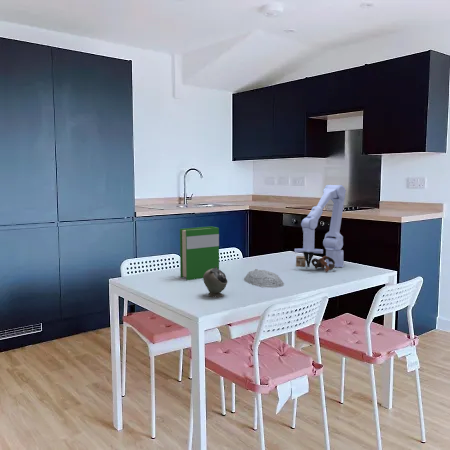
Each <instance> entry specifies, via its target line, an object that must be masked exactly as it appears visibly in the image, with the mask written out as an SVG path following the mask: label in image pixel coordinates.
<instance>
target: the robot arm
mask: <svg viewBox="0 0 450 450" xmlns="http://www.w3.org/2000/svg"><path fill="white" fill-rule="evenodd" d="M322 190H323V191H322V193H323V194H322V195H321V197H320V199H319V201H318V203H317V205H315V206H312V208H311V210H310V212H309V213H308V214H307V216H306V217H304V218H303V219H302V220H301V223H300V226H301V228H302V233H303V235H302V236H303V238H302V239H303V241H302V244H303V245H302V248H294V253H295V254H298V253H299V254H300V253H301V254H303V256H304V257H305V259H306V266H307V268H310V265H311V261H312V259H313V257H314V254H324V249H325V256H327V257H330V258H332V259H333V260H334V261H335V264H334V265H335V267H334V268H344V262H345V261H344V250H343V249H342V248H343V246H344V236H343V235H342V234H341V232H340V230H341V225H342V217H343V211H344V207H345V206H344V205H345V197H346V191H347V189H346V188H345V187H344V185H343V184H326V185H325V187H324V189H322ZM330 201H332V202H333V206H332V209H331V210H332V211H331V216H330V217H331V218H330V223H329V224H330V225H329V231H327V232H326V233H325V235H324V239H322V240H323V241H322V246H323V247H324V249H323V248H322V249H321V248H315V232H316V230H315V229H316V228H317V227H318V223H319V219H320V218H321V217H322V214H323V213H324V212H323V211H324V210H323V209H324V208H325V206H326V205H327V204H328V203H329V202H330ZM325 262H326V263H327V265H328V266H329V264H333V263H332V262H329V260H328V259H326V260H325Z"/></svg>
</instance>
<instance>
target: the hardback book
mask: <svg viewBox="0 0 450 450" xmlns="http://www.w3.org/2000/svg"><path fill="white" fill-rule="evenodd" d="M179 261H180V265H179V266H180V273H179V274H180V276H179V277H180V278H185V280H186V281H193V280H200V279H203V276H204V274H205V272H206V271H208V270H210V269H212V268H215V266H216V267H217V268H218V269H219V270H220V228H219V227H217V226H199V227H188V228H187V227H186V228H179Z"/></svg>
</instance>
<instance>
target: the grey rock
mask: <svg viewBox="0 0 450 450" xmlns="http://www.w3.org/2000/svg"><path fill="white" fill-rule="evenodd" d="M243 281H244V282H246V283H248V284H250V285H252V286H255V287H261V288H266V289H274V288H275V289H276V288H281V287H283V286H285V283H284V282H283V280H282V278H280V276H279V275H278V274H277V273H276V272H272V271H270V270H266V269H258V268H255V269H253V270H251V271H249V272H247V274H246V275H245V276H244V277H243Z"/></svg>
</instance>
